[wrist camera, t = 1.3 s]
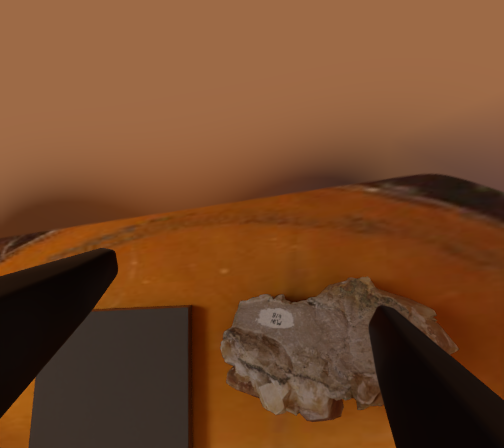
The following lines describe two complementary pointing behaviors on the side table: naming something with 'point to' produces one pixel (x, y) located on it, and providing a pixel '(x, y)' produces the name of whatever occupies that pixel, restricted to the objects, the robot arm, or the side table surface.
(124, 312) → the slate board
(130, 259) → the side table surface
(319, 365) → the mineral specimen
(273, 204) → the side table surface
